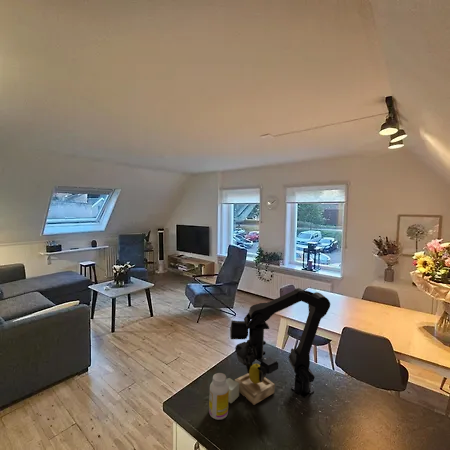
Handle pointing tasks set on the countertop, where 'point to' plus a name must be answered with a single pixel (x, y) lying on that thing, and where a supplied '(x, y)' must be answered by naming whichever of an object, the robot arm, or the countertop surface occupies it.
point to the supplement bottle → (218, 397)
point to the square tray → (255, 388)
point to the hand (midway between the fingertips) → (254, 377)
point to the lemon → (254, 373)
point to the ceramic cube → (232, 389)
